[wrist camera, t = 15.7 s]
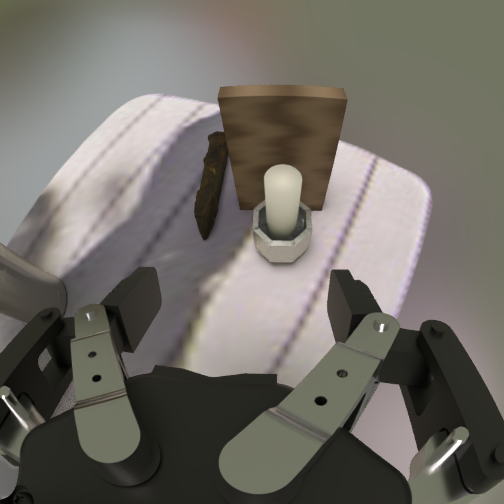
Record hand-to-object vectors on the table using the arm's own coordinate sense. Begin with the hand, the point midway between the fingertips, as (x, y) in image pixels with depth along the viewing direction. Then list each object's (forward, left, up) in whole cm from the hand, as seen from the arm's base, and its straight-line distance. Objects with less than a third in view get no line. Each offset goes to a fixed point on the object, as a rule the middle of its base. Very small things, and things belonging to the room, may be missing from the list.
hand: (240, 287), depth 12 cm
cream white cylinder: (+2, +13, -20) cm, 24 cm away
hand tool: (-8, +23, -23) cm, 34 cm away
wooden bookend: (+2, +21, -23) cm, 31 cm away
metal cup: (+2, +14, -21) cm, 25 cm away
